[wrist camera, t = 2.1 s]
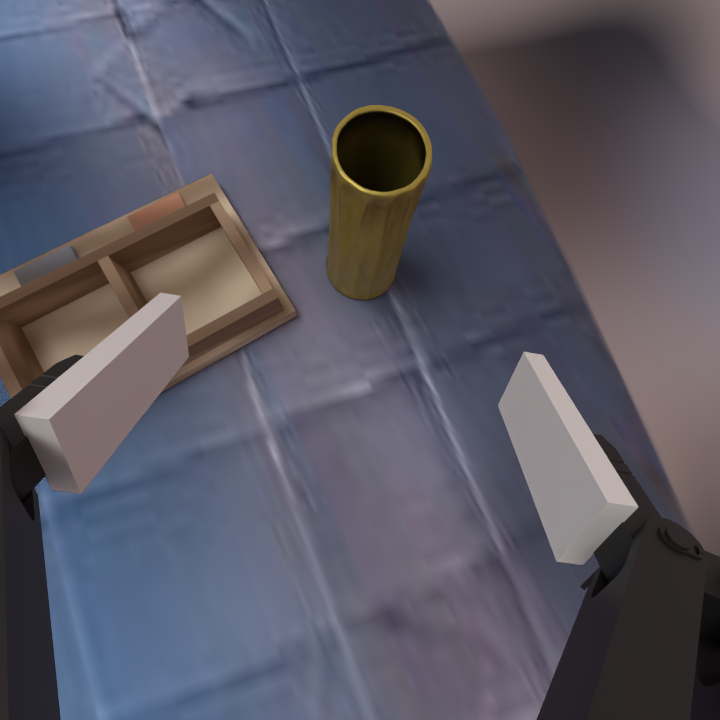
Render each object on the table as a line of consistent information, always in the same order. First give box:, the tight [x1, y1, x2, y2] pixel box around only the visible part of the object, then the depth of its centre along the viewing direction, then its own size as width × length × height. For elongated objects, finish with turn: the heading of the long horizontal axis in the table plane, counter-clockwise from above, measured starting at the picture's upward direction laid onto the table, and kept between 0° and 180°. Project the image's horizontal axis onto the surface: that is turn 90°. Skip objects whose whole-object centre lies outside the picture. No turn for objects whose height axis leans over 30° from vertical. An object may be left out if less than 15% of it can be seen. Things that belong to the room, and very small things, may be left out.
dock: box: [0, 173, 297, 398], centre depth 29 cm, size 14×20×4 cm
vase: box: [327, 105, 432, 300], centre depth 26 cm, size 6×6×14 cm
